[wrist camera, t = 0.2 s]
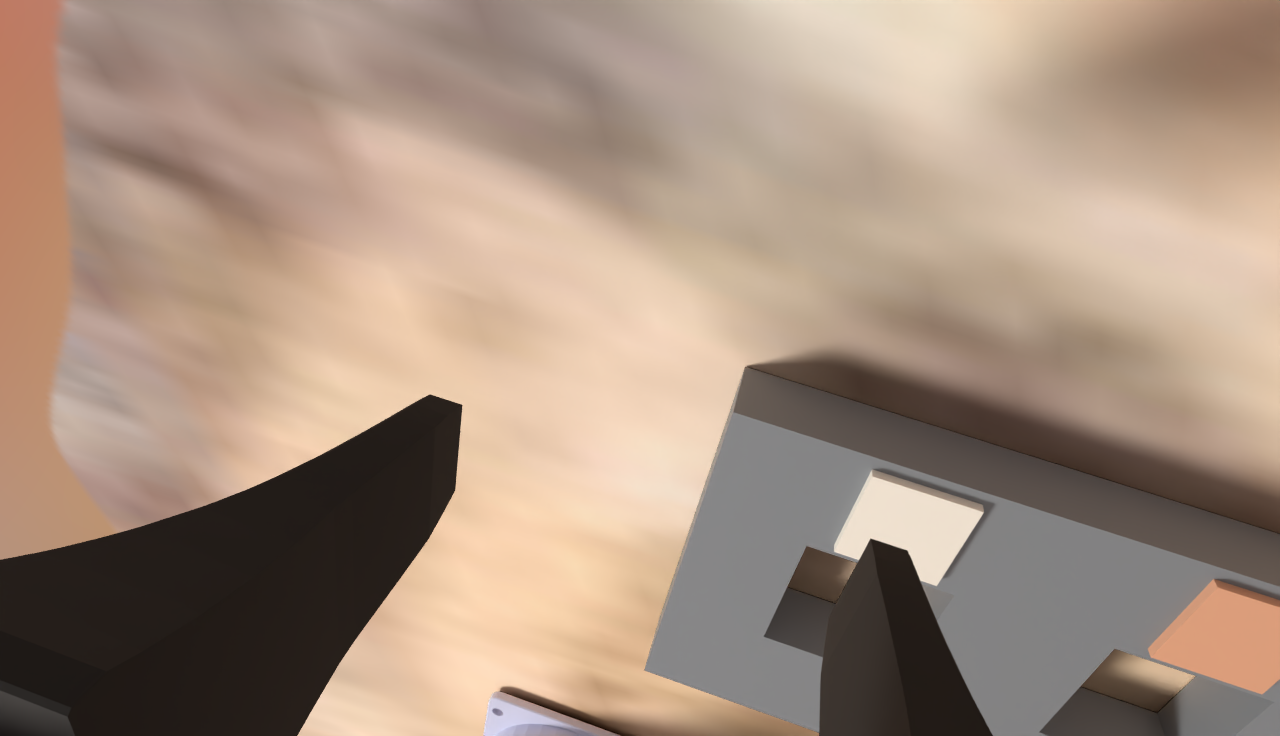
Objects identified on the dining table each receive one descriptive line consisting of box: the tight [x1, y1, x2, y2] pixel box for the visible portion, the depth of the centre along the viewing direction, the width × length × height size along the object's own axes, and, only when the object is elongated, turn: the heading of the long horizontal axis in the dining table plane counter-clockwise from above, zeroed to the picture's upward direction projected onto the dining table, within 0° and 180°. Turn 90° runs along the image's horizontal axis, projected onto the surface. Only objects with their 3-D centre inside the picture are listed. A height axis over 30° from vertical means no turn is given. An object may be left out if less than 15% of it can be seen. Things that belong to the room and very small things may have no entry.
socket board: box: [645, 367, 1280, 736], centre depth 24 cm, size 12×20×3 cm, turn 78°
